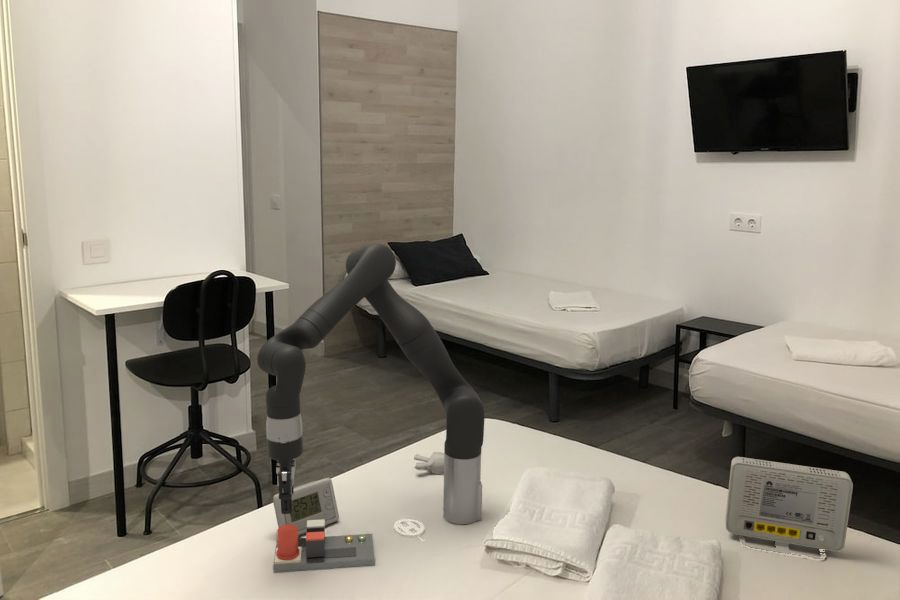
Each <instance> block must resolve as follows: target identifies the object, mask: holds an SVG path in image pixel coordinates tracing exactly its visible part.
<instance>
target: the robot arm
mask: <svg viewBox="0 0 900 600" xmlns="http://www.w3.org/2000/svg"><path fill="white" fill-rule="evenodd" d="M396 267H397V260H396V256H395V253H394V251H393V250H392V249H391V248H390V247H388V246H387V245H385V244H383V243H370V244H367V245H365V246H363V247H360V248H358V249H356V250H354V251H352V252H350V254H348V255H347V258H346V260H345V270H346V276H345V277H343V279H342V280H340V282H338V283H337V284H336V285H334V287H332V288H331V289H330V290H328V291H327V292H326V293H325V294H324V295H322V296H320V297H319V298H318V299H317V300H316V301H315V302H313V303H312V304H311V305H310V306H309V307H308V308H307V309H306V310H305V311H304V312H303V313H302V314H301V315H300V316H299V317H298V318H297V319H296V320H295V321H294V322H293V323H292V324H290V325H289V326H287V327H285V328H284V329H282V330H281V331H279V332H278V333H276V334H274V335H273V336H272V337H270V338H269V339H268V340H267V341H265V342H264V343H263V344H262V346H261V347H260V349H259V351H258V354H257V356H256V357H257V358H256V359H257V360H256V362H257V363H256V364H257V365H258V367H259V369H260V370H261V371H262V372H264V373H266V374H268V375H272V376H275V377H276V380H277V381H276V385H273V386H271V387H269V388H268V389H267V391H266V395H265V403H266V421H265V423H266V424H265V430H266V450H267V452H266V453H267V457H269V458H270V459H271V460H274V461H276V466H275V472H276V475H277V477H276V479H277V482H276V483H277V487H278V493H279V499H281V513H282V514H290V513H292V495H293V493H294V487H295V486H294V485H295V473H296V467H297V465H296V463H297V462H296V459H298V458H299V457H301V456H302V454H303V453H304V439H303V438H304V437H303V435H304V434H303V419H302V415H301V396H300V394H301V391H302V387H303V382H304V378H305V373H306V366H307V365H306V357H305V355H304V352H303V351H304V350H310V349H314V348H316V347H317V346H318V345H319V344H320V343H321V342H323V340H324V339H326V337H327V336H328V335H329V334H330V333H331V332H332V331H333V329H334V328H336V326H337V325H338V324H339V323H340V322H341V320H343V319H344V318H345V316H347V314H348V313H349V312H350V311H352V310H353V309H354V308H355V306H356V305H357V304H358V303H360V301H362V300H363V299H364V298H365V300H367V302H368V303H369V304H370V306H371V307H372V308H373V310H375V312H376V314H377V315H378V316H379V317H380V319H381V320H382V322H383V325H384V326H386V328H387V330H388V331H389V332H390V334H391V335H392V336H393V339H394V341H396V343H397V345H398V346H399V348H400V350H402V352H403V354H404V355H405V357H406V358H407V359H408V361H409V362H410V363H411V365H412V366H413V367H415V368H416V369H417V371H419V372H420V373H421V374H422V376H424V377H425V378H426V380H427V381H428V382H429V383H430V385H431V386H432V387H433V390H434V391H435V393H436V395H437V396H438V398H439V401H440V402H441V405H442V407H443V409H444V413H445V415H446V424H445V425H446V426H445V427H446V428H445V429H446V430H445V433H446V434H445V441H444V443H443V444H444V451H443V453H444V474H443V498H442V499H443V503H442V504H443V505H442V516H443V518H444V520H446V521H447V522H449V523H452V524H455V525H468V524H473V523H475V522H476V521H481V520H482V511H483V508H482V507H483V506H482V505H483V483H482V481H481V480H482V479H481V478H482V477H481V475H482V474H481V472H482V466H481V465H482V448H483V445H484V444H483V443H484V438H485V437H484V435H485V432H484V431H485V408H484V405H483V403H482V400H481V399H480V396H479V394H478V393H477V392H476V390H475V389H474V388H473V387H472V385H470V384H469V383H468V382H467V381H466V379H465V378H464V376H463V375H462V374H461V373H460V372H459V370H458V368H456V366H455V365H454V363H453V361H452V358H451V357H450V355H449V352H448V351H447V349H446V347H445V345H444V343H443V341H442V339H441V338H440V336H439V334H438V332H437V331H436V330H435V329H434V326H433V325H432V323H431V322H430V321H429V319H428V318H427V316H425V315H424V314H423V312H421V311H420V310H418V309H417V308H416V307H415V306H413V305H412V304H410V303H409V301H407V300H406V299H404V298H403V297H402V296H401V295H399V293H397V291H396V290H395V289H394V287H393V286H392V285H391V283H390V282H389V279H390V278H391V277H392V276H393V274H394V272H395V270H396Z"/></svg>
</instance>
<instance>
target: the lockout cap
mask: <svg viewBox="0 0 900 600" xmlns="http://www.w3.org/2000/svg"><path fill="white" fill-rule="evenodd" d="M298 538H299V537H298V527H297V526H295V525H292V524H286V525H282V526H280V527H279V528H278V527H277V540H278V550H277V552H276V555H277V557H278V558H279V559H281V560H292V559H295V558H296V557H298V556H299V548H298Z"/></svg>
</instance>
